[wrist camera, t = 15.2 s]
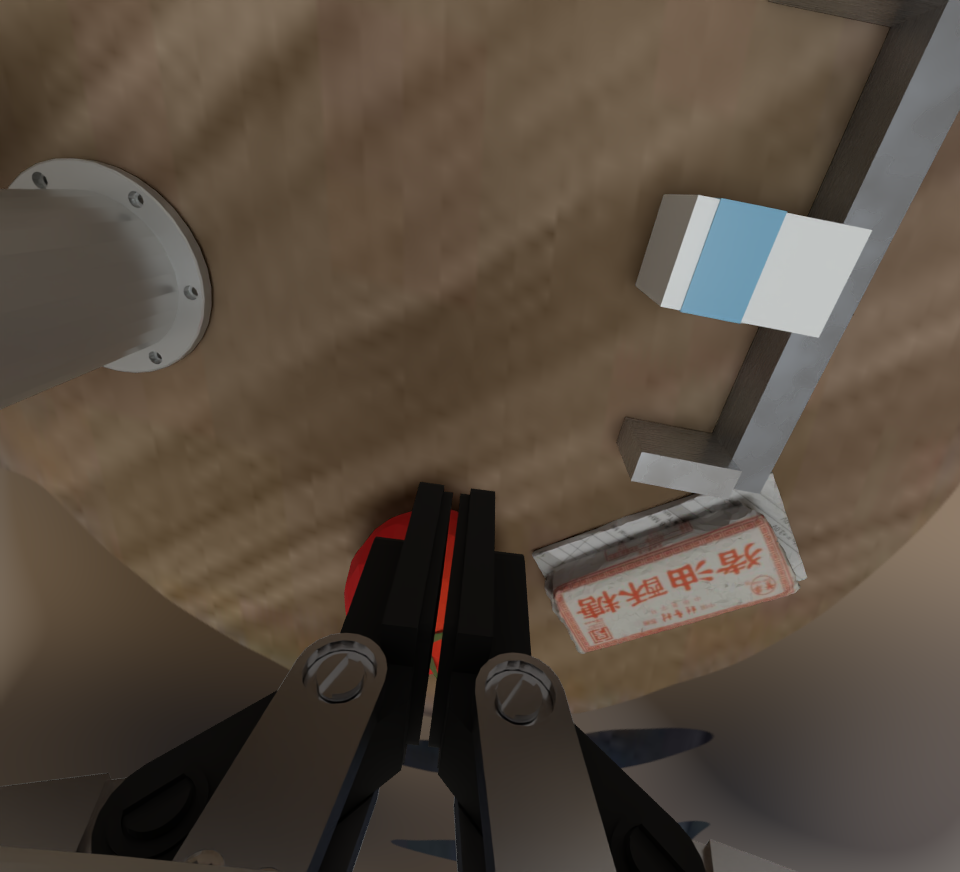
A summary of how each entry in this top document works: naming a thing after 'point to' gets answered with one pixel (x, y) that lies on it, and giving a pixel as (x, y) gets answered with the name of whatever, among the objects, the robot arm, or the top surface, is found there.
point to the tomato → (398, 530)
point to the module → (748, 263)
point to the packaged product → (672, 566)
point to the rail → (841, 199)
